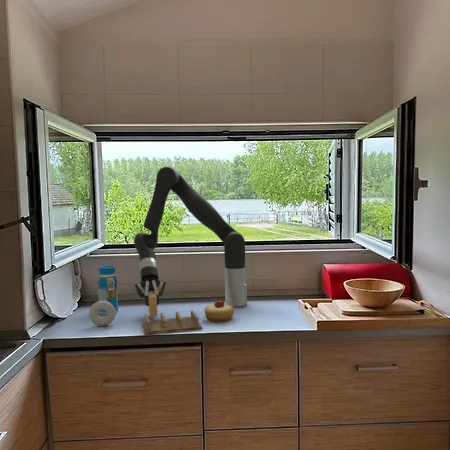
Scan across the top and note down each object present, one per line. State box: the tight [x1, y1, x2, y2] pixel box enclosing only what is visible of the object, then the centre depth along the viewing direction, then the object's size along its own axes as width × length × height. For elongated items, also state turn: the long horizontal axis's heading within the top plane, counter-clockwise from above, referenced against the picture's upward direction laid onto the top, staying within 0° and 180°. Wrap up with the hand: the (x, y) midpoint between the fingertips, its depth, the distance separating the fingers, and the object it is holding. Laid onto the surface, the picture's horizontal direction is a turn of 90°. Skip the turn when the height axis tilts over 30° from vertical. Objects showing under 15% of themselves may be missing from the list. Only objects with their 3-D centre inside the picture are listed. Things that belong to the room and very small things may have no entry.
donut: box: [88, 300, 117, 327], centre depth 159 cm, size 10×3×10 cm, turn 99°
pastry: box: [204, 297, 235, 323], centre depth 165 cm, size 12×12×9 cm
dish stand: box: [141, 309, 203, 336], centre depth 157 cm, size 21×14×4 cm, turn 105°
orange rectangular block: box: [147, 291, 158, 318], centre depth 169 cm, size 3×9×8 cm, turn 15°
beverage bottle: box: [97, 265, 119, 315], centre depth 179 cm, size 8×8×20 cm
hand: (152, 304), depth 168 cm, fingers closed on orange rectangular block, 3 cm apart
